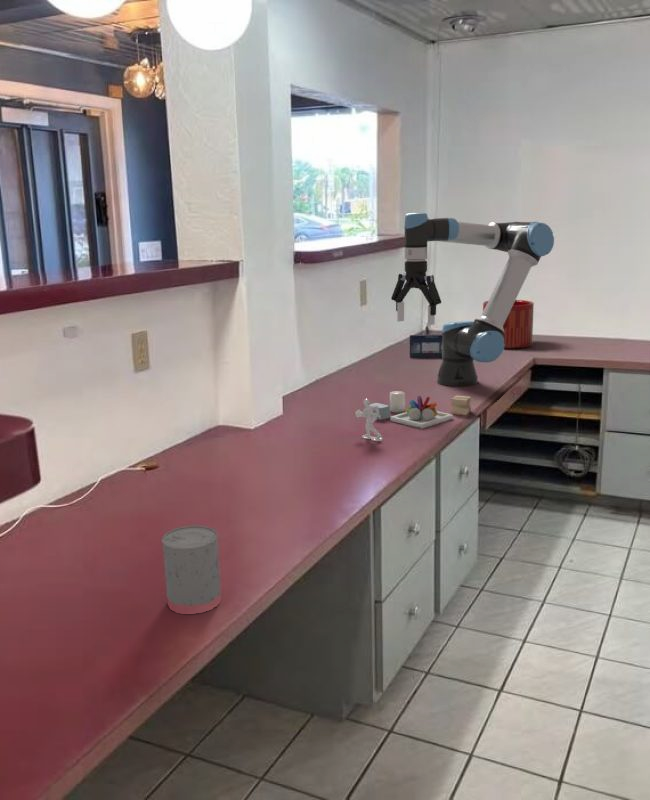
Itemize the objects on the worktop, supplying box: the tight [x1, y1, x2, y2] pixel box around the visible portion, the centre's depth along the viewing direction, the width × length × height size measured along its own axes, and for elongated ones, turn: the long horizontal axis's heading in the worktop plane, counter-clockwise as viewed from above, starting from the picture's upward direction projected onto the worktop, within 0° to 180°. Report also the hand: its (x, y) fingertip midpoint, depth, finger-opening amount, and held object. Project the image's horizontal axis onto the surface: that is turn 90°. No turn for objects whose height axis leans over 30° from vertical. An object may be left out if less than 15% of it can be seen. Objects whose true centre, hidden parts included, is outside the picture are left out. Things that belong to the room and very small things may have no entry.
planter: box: [482, 299, 535, 350], centre depth 367 cm, size 23×23×20 cm
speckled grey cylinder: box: [161, 525, 222, 606], centre depth 137 cm, size 10×10×12 cm
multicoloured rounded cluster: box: [406, 395, 438, 421], centre depth 247 cm, size 8×10×7 cm
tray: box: [390, 410, 454, 430], centre depth 248 cm, size 15×13×1 cm
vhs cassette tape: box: [409, 334, 442, 359], centre depth 345 cm, size 18×3×10 cm, turn 83°
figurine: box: [354, 398, 384, 442], centre depth 229 cm, size 5×9×12 cm, turn 58°
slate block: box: [369, 402, 391, 421], centre depth 253 cm, size 4×6×4 cm, turn 42°
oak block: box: [450, 395, 472, 416], centre depth 255 cm, size 5×5×5 cm
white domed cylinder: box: [389, 390, 406, 414], centre depth 259 cm, size 5×5×6 cm
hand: (415, 323), depth 268 cm, fingers open, 13 cm apart
